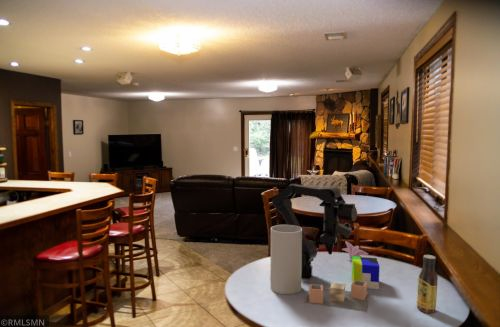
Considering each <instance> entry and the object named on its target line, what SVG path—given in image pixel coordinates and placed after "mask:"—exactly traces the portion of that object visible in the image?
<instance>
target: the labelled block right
mask: <svg viewBox="0 0 500 327" xmlns="http://www.w3.org/2000/svg"><path fill="white" fill-rule="evenodd" d="M350 291H351V297H352V298H357V299H362V300H365V298H366V296H367V294H368V288H367V282H361V281H356V280H354V281H353V282H352V283H351V285H350Z"/></svg>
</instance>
